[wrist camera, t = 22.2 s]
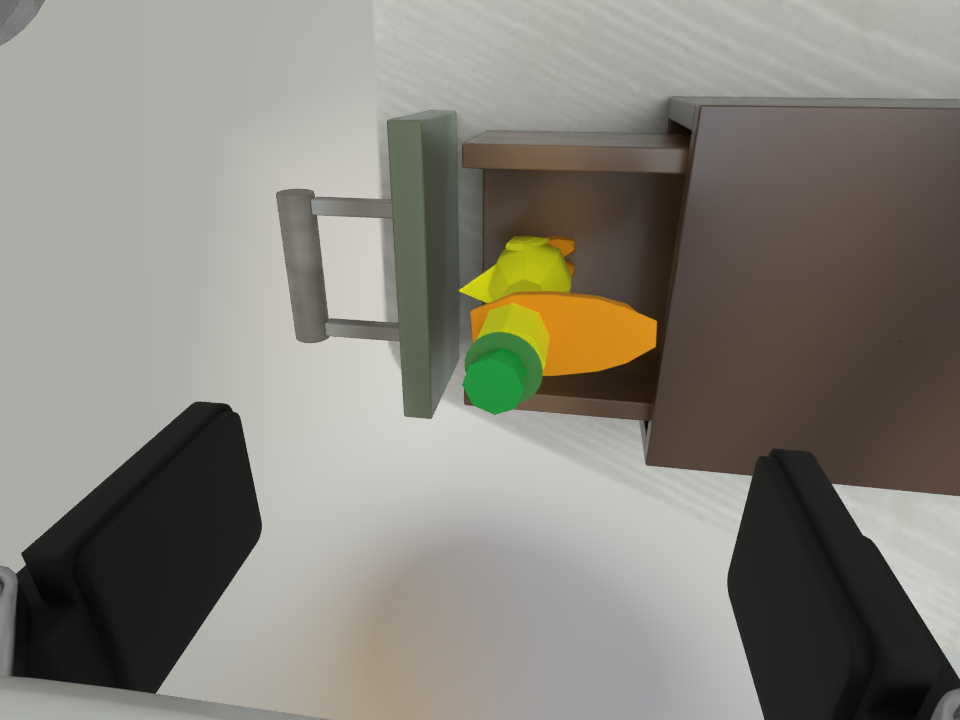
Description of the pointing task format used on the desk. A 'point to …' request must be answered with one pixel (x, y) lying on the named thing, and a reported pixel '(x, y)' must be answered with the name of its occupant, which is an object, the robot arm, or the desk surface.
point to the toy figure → (542, 325)
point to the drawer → (506, 213)
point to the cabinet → (814, 291)
